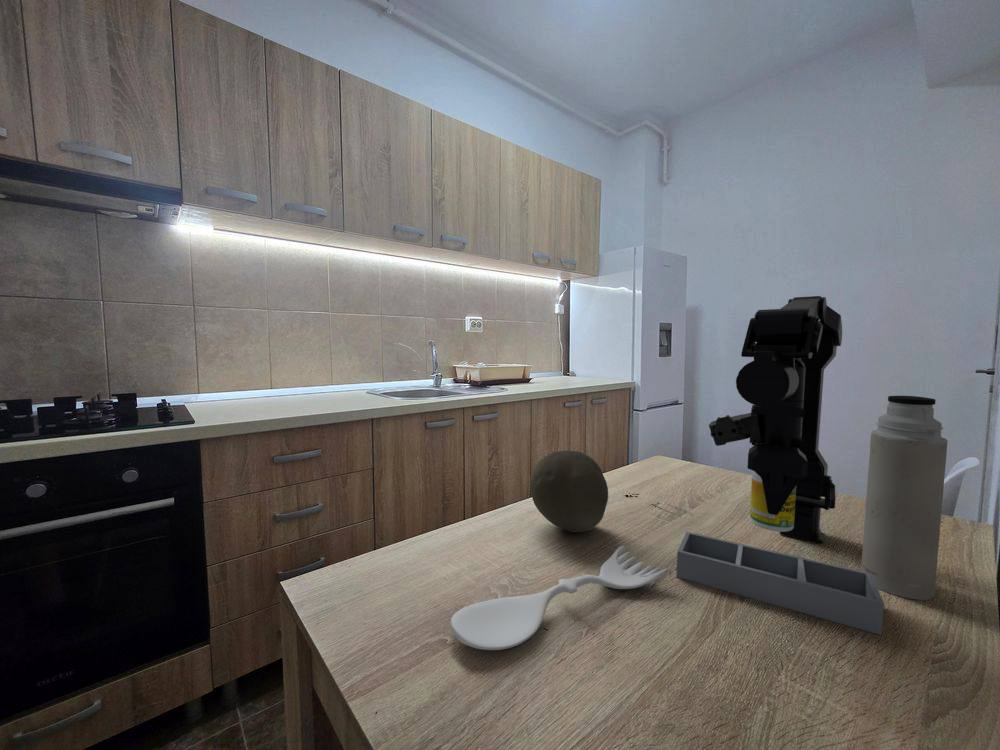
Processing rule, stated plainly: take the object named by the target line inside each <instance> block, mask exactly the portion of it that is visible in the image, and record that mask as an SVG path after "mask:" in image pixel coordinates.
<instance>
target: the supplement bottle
mask: <svg viewBox="0 0 1000 750" xmlns="http://www.w3.org/2000/svg"><path fill="white" fill-rule="evenodd" d="M795 500H796V486H795V488H794V489H793V491H792V493H791V494H790V496H789V497H788V499H787V500H786V502H785V504H784V505H783V507H782V508H781V510H780V512H779V513H778V515H773V514H769V513H768V510H767V505H766V499H765V494H764V488H763V483H762V479H761V477H760V476H759V475H758V474H757V473H756V472H755V471H753V472H752V474H751V489H750V507H749V508H750V509H749V511H750V512H749V520H750V521H751V522H752V524H753V525H755V526H756V527H758V528H761V529H764V530H768V531H773V532H779V533H780V532H786V531H791V530H792V529H793V528H794V517H795Z"/></svg>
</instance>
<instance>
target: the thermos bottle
mask: <svg viewBox="0 0 1000 750" xmlns="http://www.w3.org/2000/svg"><path fill="white" fill-rule="evenodd" d="M887 401H888V404H887V406H886V413H885V414H883V415H881V416H878V418H877V419H878V420H877V423H876V426H877V429H875V430H871V432H870V443H869V458H868V471H867V483H866V497H865V510H864V511H865V513H864V523H863V525H864V526H863V536H862V538H863V540H862V551H861V552H862V553H861V563H860V564H861V566H860V571H863V572H867V573H871V575H872V578H873V580H874V582H875V584H876V587H877V589H878V590H880V591H883V592H886V593H888V594H891V595H894V596H897V597H901V598H902V597H903V598H906V599H912V600H918V601H919V600H920V601H921V600H922V601H926V600H931V599H933V598H934V597H935V593H936V584H937V583H936V581H937V570H938V558H939V556H938V555H939V547H940V534H941V522H942V514H943V513H942V512H943V499H944V498H943V497H944V487H945V477H946V467H947V466H946V464H947V453H948V451H947V450H948V439H947V438H945V437H942V430H943V429H944V428H943V426H942V423H941V422H940V421H939V420H937V419H936V418H934V415H935V413H934V412H935V410H934V409H935V408H934V405H936V399H935V398H931V397H925V396H917V395H916V396H915V395H888V396H887Z"/></svg>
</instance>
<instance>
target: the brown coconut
mask: <svg viewBox="0 0 1000 750" xmlns="http://www.w3.org/2000/svg"><path fill="white" fill-rule="evenodd" d="M529 487H530V488H529V490H530V494H531V498H532V501H533V504H534V506H535V508H536V509H537V511H538V512H539V513H540V514H541V515H542V517H543V518H545V520H547V521H548V522H549V523H551V524H552V525H554V526H555V527H557V528H559V529H562V530H565V531H568V532H573V533H583V532H587V531H590V530H591V529H593V528H595V527H597V525H598V524H600V523H601V521H602V519H603V518H604V515H605V511H606V509H607V505H608V501H609V488H608V483H607V481H606V477H605V476H604V474H603V472H602V469H601V467H600V465H599V464H598V463H597V462H596V461H595V459H593V458H592V457H590V456H589V455H587V454H585V453H583V452H581V451H578V450H577V451H576V450H558V451H552V452H550V453H548V454H547V455H545V456H543V458H540V460H539V461H538V462H537V463H536V465H535V467H534V468H533V470H532V472H531V475H530V479H529Z"/></svg>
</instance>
